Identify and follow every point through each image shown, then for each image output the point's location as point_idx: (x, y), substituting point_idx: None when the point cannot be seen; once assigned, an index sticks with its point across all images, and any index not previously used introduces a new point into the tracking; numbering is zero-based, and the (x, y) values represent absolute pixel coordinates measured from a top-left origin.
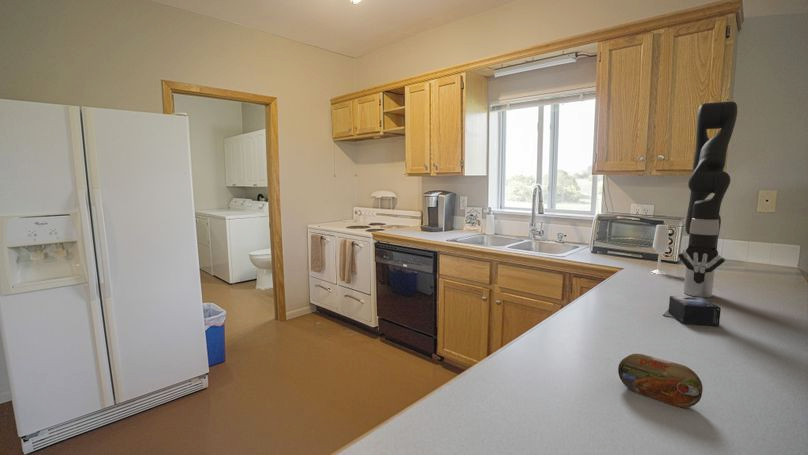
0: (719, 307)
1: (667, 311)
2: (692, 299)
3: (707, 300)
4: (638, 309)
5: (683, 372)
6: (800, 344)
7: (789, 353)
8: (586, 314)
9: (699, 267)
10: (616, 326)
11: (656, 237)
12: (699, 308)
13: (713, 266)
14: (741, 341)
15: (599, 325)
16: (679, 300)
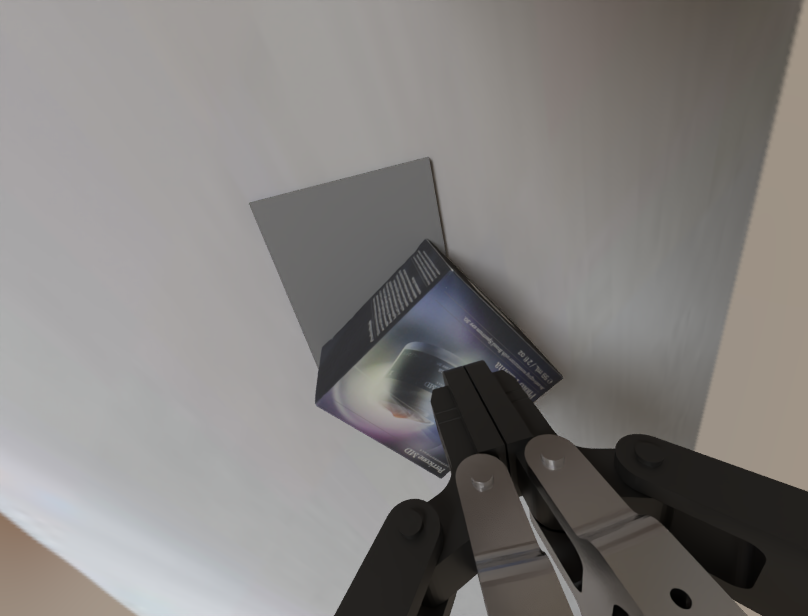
0: (558, 380)
1: (309, 334)
2: (433, 384)
3: (489, 317)
4: (220, 404)
5: None
6: (737, 266)
7: (691, 376)
8: (195, 581)
9: (521, 509)
10: (320, 573)
11: None
12: None
13: (736, 581)
14: (589, 397)
15: (292, 599)
16: (394, 441)
